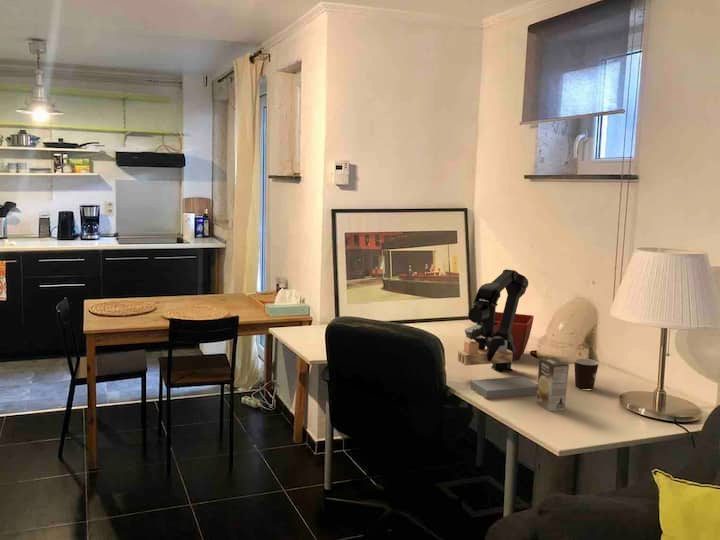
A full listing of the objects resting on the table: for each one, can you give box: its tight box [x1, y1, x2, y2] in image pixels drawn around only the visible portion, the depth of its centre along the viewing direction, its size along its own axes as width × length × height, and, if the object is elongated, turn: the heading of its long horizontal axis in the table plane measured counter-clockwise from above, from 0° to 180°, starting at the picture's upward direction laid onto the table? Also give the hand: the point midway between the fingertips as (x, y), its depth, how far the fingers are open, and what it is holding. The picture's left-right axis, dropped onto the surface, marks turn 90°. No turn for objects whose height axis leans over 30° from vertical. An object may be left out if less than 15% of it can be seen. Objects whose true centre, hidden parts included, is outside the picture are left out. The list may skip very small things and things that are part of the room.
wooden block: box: [457, 348, 513, 366], centre depth 262 cm, size 20×6×4 cm, turn 109°
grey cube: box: [496, 340, 507, 352], centre depth 263 cm, size 4×4×4 cm
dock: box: [470, 375, 538, 400], centre depth 248 cm, size 22×12×3 cm, turn 108°
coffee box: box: [535, 356, 570, 412], centre depth 232 cm, size 9×6×16 cm
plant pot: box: [486, 311, 534, 361], centre depth 296 cm, size 19×19×17 cm
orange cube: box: [463, 339, 479, 354], centre depth 259 cm, size 4×4×4 cm
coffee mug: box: [573, 358, 599, 390], centre depth 255 cm, size 12×9×10 cm
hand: (485, 358), depth 262 cm, fingers closed on wooden block, 6 cm apart
